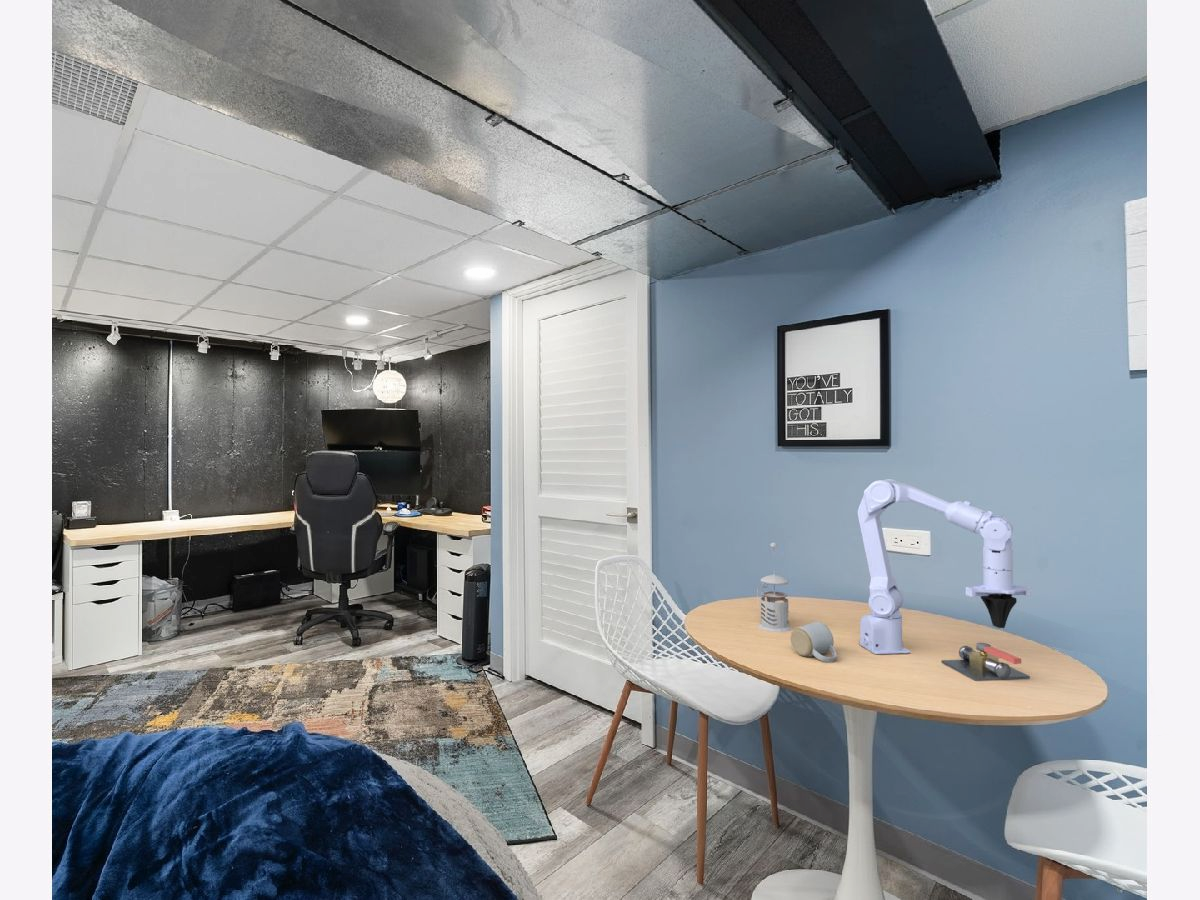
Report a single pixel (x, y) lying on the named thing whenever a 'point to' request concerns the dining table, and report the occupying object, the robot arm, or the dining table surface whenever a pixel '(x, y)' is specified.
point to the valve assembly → (983, 666)
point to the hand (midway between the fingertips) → (998, 626)
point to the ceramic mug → (813, 641)
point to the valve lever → (998, 653)
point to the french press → (774, 605)
